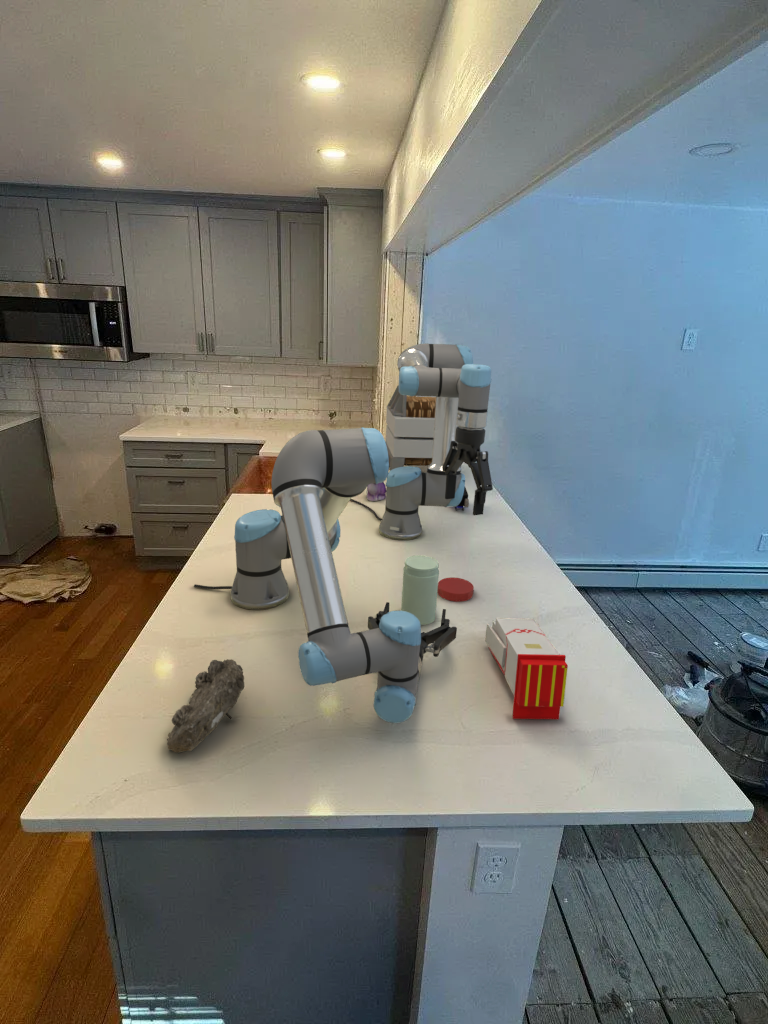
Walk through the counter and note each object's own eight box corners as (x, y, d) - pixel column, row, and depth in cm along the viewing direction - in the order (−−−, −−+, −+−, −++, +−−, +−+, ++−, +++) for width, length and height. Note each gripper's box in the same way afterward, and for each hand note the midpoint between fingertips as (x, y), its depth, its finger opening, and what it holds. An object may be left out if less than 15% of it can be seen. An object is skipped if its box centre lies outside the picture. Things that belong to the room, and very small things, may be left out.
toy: (531, 603, 136) (576, 661, 106) (526, 655, 139) (569, 725, 109) (481, 602, 135) (512, 660, 106) (477, 654, 138) (507, 724, 109)
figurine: (371, 503, 230) (372, 467, 224) (360, 495, 238) (361, 460, 233) (391, 500, 234) (393, 465, 229) (380, 493, 242) (381, 459, 237)
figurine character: (468, 516, 224) (463, 500, 237) (471, 498, 221) (465, 483, 234) (452, 515, 224) (447, 499, 237) (453, 498, 220) (449, 482, 234)
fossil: (192, 660, 117) (244, 628, 112) (224, 691, 120) (276, 661, 115) (142, 746, 98) (202, 712, 93) (182, 779, 101) (242, 748, 96)
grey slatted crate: (382, 463, 289) (386, 382, 275) (445, 464, 293) (451, 384, 279) (390, 482, 257) (394, 392, 243) (460, 483, 261) (468, 394, 247)
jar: (441, 621, 145) (446, 566, 140) (410, 628, 141) (414, 572, 136) (424, 605, 152) (428, 552, 147) (394, 611, 149) (397, 557, 144)
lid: (439, 582, 165) (439, 575, 165) (473, 587, 164) (474, 579, 163) (435, 599, 156) (436, 591, 155) (472, 603, 154) (473, 595, 154)
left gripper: (344, 668, 119) (364, 617, 139) (463, 685, 116) (466, 630, 135) (344, 637, 117) (365, 590, 136) (466, 653, 113) (469, 602, 133)
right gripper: (433, 418, 153) (427, 493, 160) (487, 438, 132) (478, 523, 139) (456, 417, 156) (450, 491, 163) (513, 436, 135) (503, 520, 142)
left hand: (415, 610), depth 136 cm, fingers open, 13 cm apart
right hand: (463, 506), depth 151 cm, fingers open, 13 cm apart
